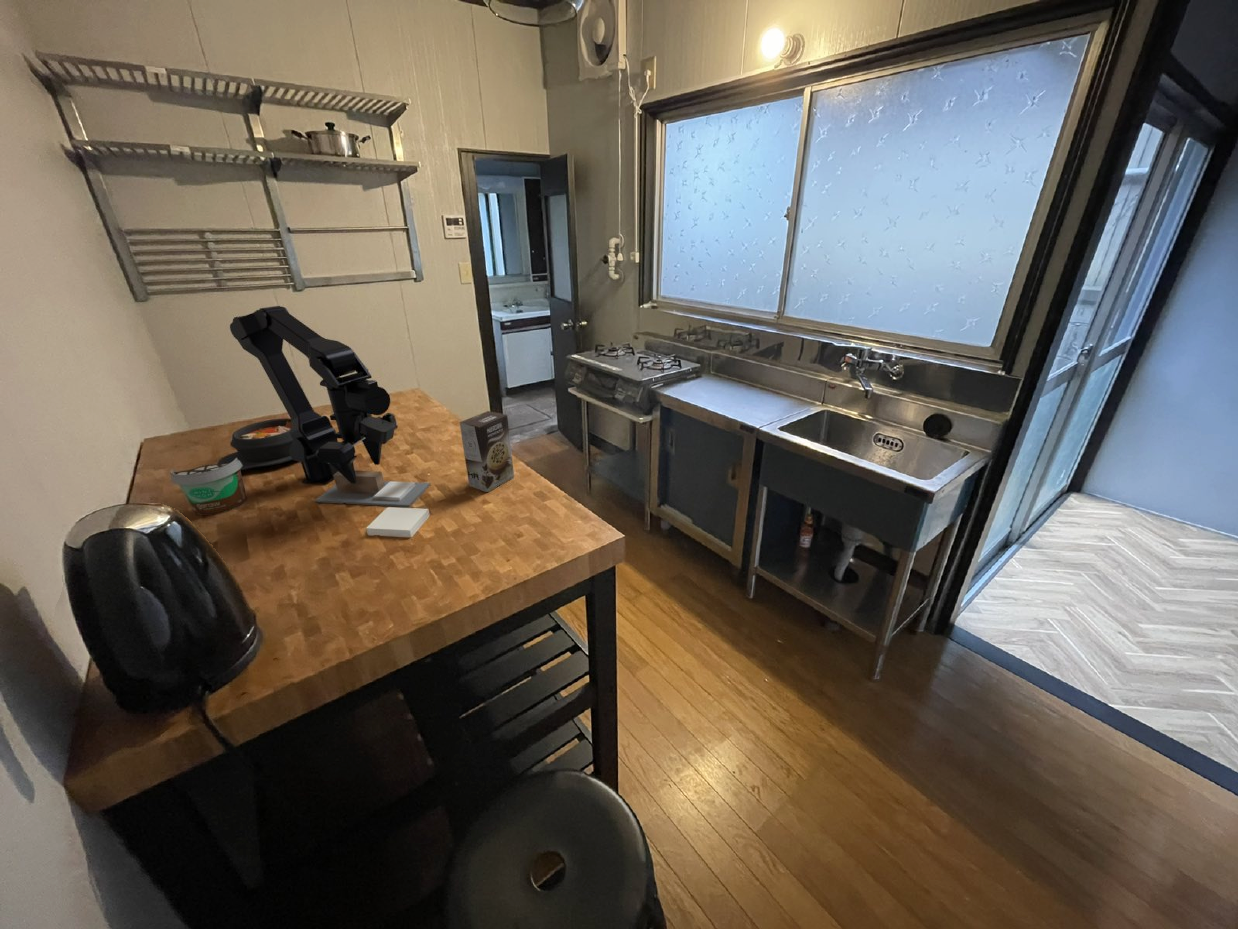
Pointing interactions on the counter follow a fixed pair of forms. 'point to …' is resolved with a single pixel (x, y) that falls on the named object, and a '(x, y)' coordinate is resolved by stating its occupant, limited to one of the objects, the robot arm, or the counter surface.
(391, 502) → the rest mat
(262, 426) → the casserole
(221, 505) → the food container
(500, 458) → the coffee box
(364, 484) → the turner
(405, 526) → the glazed tile
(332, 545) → the counter surface
